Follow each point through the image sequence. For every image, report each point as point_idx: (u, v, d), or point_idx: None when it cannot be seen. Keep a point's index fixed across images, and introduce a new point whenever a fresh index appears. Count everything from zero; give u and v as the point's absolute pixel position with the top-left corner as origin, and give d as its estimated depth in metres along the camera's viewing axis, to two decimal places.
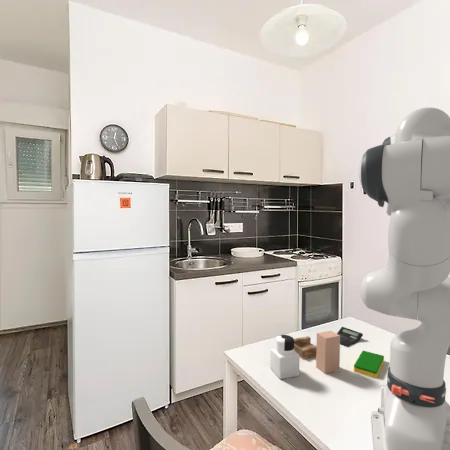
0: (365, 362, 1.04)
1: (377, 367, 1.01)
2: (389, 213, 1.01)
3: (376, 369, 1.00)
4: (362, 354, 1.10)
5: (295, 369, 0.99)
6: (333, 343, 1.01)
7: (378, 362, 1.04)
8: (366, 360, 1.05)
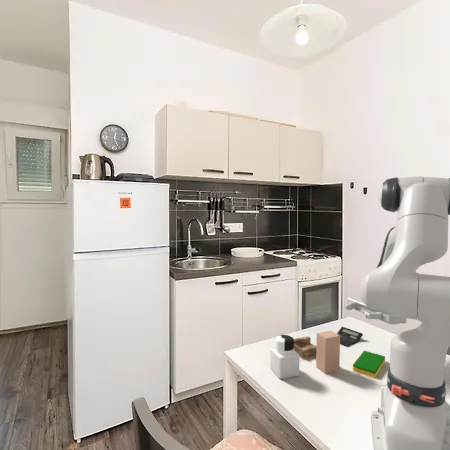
0: (365, 362, 1.04)
1: (376, 367, 1.01)
2: (349, 297, 1.18)
3: (375, 369, 1.00)
4: (363, 354, 1.10)
5: (295, 369, 0.99)
6: (333, 343, 1.01)
7: (378, 362, 1.04)
8: (366, 360, 1.06)
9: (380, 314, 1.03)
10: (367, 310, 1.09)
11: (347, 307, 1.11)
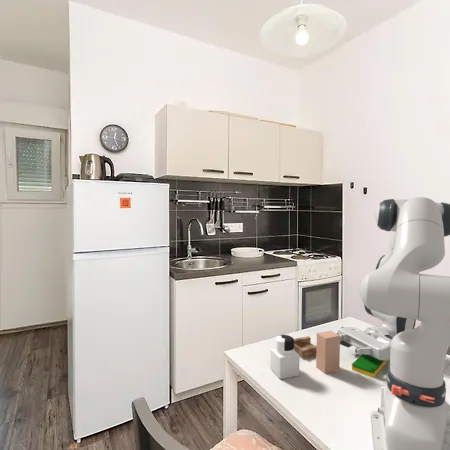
0: (364, 362, 1.04)
1: (375, 367, 1.01)
2: (340, 328, 1.16)
3: (374, 369, 1.00)
4: (363, 354, 1.10)
5: (295, 369, 0.99)
6: (333, 343, 1.01)
7: (378, 362, 1.04)
8: (366, 360, 1.06)
9: (370, 349, 1.01)
10: (357, 343, 1.08)
11: None
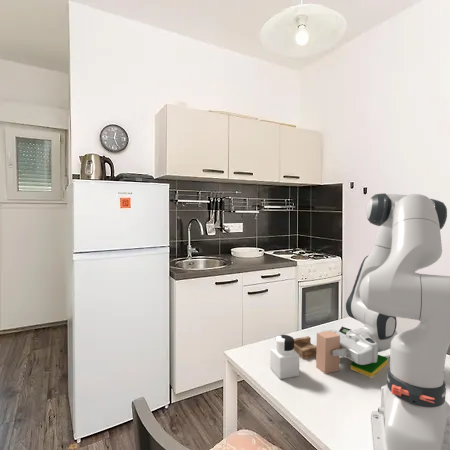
0: None
1: (374, 367, 1.01)
2: (321, 331, 1.13)
3: (372, 369, 1.00)
4: None
5: (295, 369, 0.99)
6: (333, 343, 1.01)
7: (378, 363, 1.04)
8: None
9: (345, 351, 1.00)
10: None
11: None
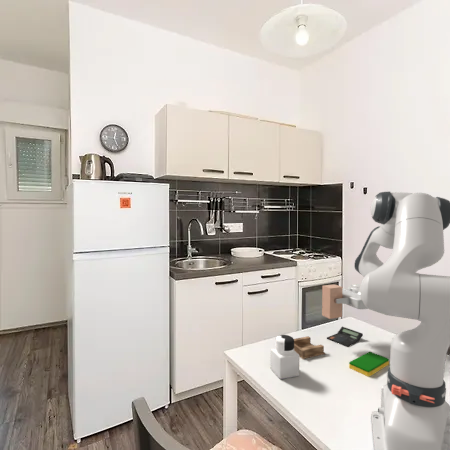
0: (363, 361, 1.05)
1: (373, 367, 1.01)
2: None
3: (370, 368, 1.00)
4: (366, 354, 1.10)
5: (295, 369, 0.99)
6: (336, 293, 1.19)
7: (377, 363, 1.04)
8: (366, 360, 1.06)
9: (347, 299, 1.17)
10: None
11: None
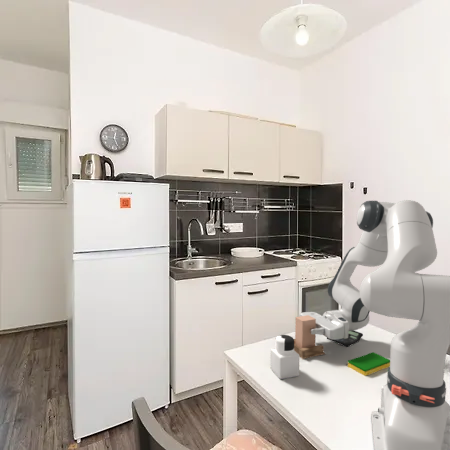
0: (362, 361, 1.05)
1: (371, 367, 1.01)
2: (301, 313, 1.27)
3: (367, 368, 1.00)
4: (367, 354, 1.10)
5: (295, 369, 0.99)
6: (309, 325, 1.15)
7: (377, 363, 1.03)
8: (366, 359, 1.06)
9: (322, 330, 1.12)
10: None
11: None
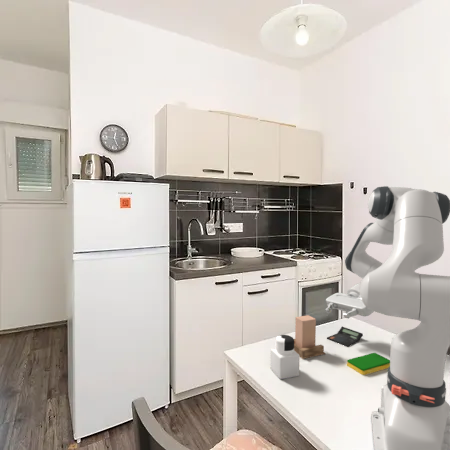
0: (362, 360, 1.05)
1: (369, 366, 1.01)
2: (326, 299, 1.30)
3: (366, 367, 1.01)
4: (368, 354, 1.10)
5: (295, 369, 0.99)
6: (309, 325, 1.15)
7: (377, 363, 1.03)
8: (366, 359, 1.06)
9: (355, 310, 1.15)
10: (344, 307, 1.22)
11: (327, 311, 1.24)
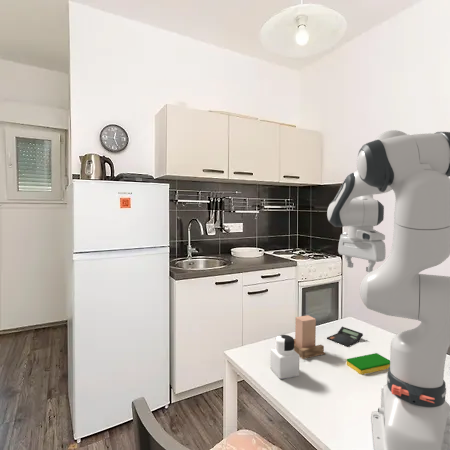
0: (362, 360, 1.06)
1: (368, 366, 1.01)
2: (339, 252, 1.25)
3: (364, 367, 1.01)
4: (370, 355, 1.09)
5: (295, 369, 0.99)
6: (309, 325, 1.15)
7: (376, 364, 1.03)
8: (366, 359, 1.06)
9: (372, 262, 1.11)
10: None
11: None
